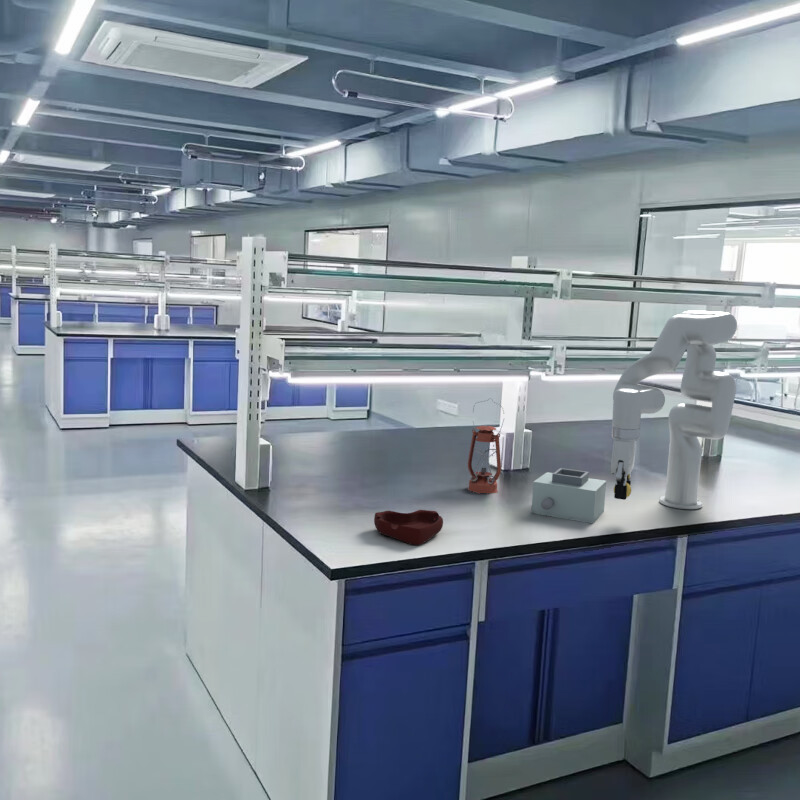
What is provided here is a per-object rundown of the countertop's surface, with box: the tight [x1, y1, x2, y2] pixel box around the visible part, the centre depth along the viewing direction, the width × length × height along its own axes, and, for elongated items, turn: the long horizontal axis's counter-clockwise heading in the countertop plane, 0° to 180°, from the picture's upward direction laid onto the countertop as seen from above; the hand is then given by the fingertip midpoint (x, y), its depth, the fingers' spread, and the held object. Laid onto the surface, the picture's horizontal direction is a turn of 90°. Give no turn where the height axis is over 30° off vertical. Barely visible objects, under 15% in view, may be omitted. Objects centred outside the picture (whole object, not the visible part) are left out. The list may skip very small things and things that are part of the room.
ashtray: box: [373, 509, 444, 546], centre depth 202 cm, size 18×16×5 cm
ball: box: [613, 482, 632, 499], centre depth 220 cm, size 5×5×5 cm
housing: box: [530, 467, 607, 524], centre depth 227 cm, size 17×18×12 cm
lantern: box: [467, 397, 505, 495], centre depth 248 cm, size 10×10×30 cm
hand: (622, 495), depth 220 cm, fingers closed on ball, 4 cm apart
